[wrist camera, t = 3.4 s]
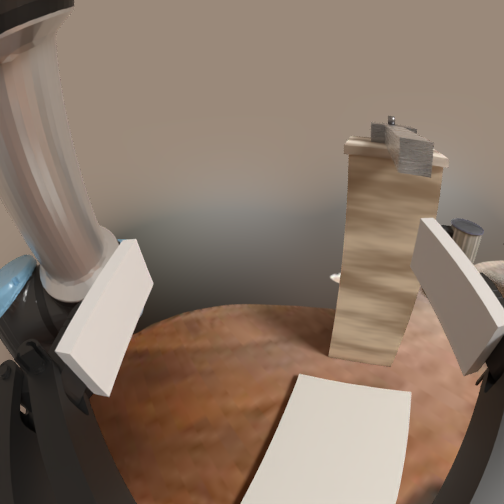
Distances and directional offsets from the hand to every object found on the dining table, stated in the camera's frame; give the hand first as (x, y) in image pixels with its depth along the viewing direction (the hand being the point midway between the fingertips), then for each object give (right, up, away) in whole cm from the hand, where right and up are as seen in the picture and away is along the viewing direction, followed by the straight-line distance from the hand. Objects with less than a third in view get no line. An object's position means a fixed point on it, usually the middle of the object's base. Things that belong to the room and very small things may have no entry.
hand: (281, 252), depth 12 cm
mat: (+9, -27, +14) cm, 32 cm away
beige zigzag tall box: (+19, -15, +34) cm, 42 cm away
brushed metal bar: (+14, +11, +13) cm, 22 cm away
